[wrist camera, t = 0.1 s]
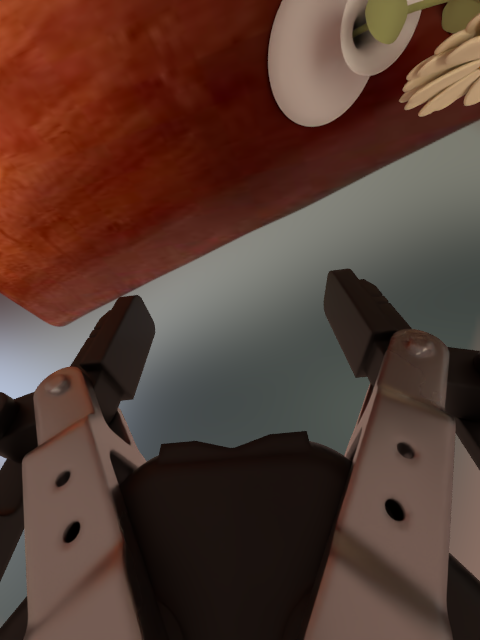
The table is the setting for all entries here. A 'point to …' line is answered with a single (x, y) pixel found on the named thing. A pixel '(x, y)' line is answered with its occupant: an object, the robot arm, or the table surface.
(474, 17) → the flower in vase
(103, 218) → the table surface
